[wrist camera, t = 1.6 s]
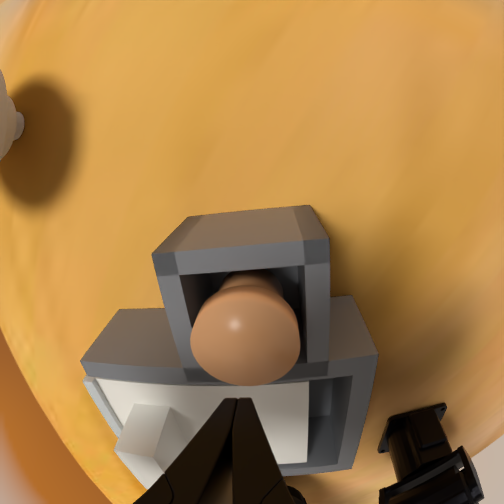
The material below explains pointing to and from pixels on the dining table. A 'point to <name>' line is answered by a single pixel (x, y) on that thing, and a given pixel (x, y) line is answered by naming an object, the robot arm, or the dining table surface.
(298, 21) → the dining table surface
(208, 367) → the tan rounded piece
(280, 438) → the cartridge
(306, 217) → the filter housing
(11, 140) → the showerhead
